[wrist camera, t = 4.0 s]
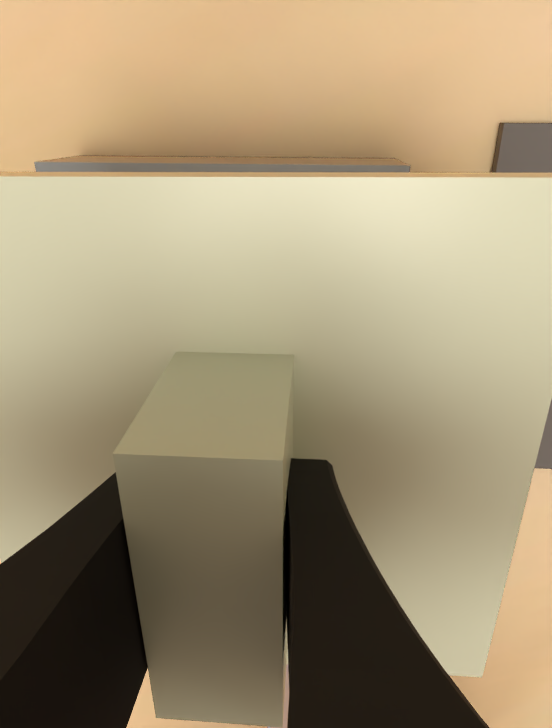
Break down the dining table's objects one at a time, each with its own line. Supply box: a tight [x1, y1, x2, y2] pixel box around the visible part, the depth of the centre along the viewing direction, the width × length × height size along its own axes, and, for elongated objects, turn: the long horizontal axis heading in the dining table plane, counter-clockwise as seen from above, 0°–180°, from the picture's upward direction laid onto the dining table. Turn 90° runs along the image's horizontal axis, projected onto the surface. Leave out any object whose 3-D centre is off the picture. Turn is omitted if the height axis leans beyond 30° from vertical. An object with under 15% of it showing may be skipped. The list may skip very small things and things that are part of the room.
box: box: [34, 156, 410, 172], centre depth 17 cm, size 10×10×3 cm
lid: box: [0, 172, 552, 727], centre depth 9 cm, size 11×11×4 cm
